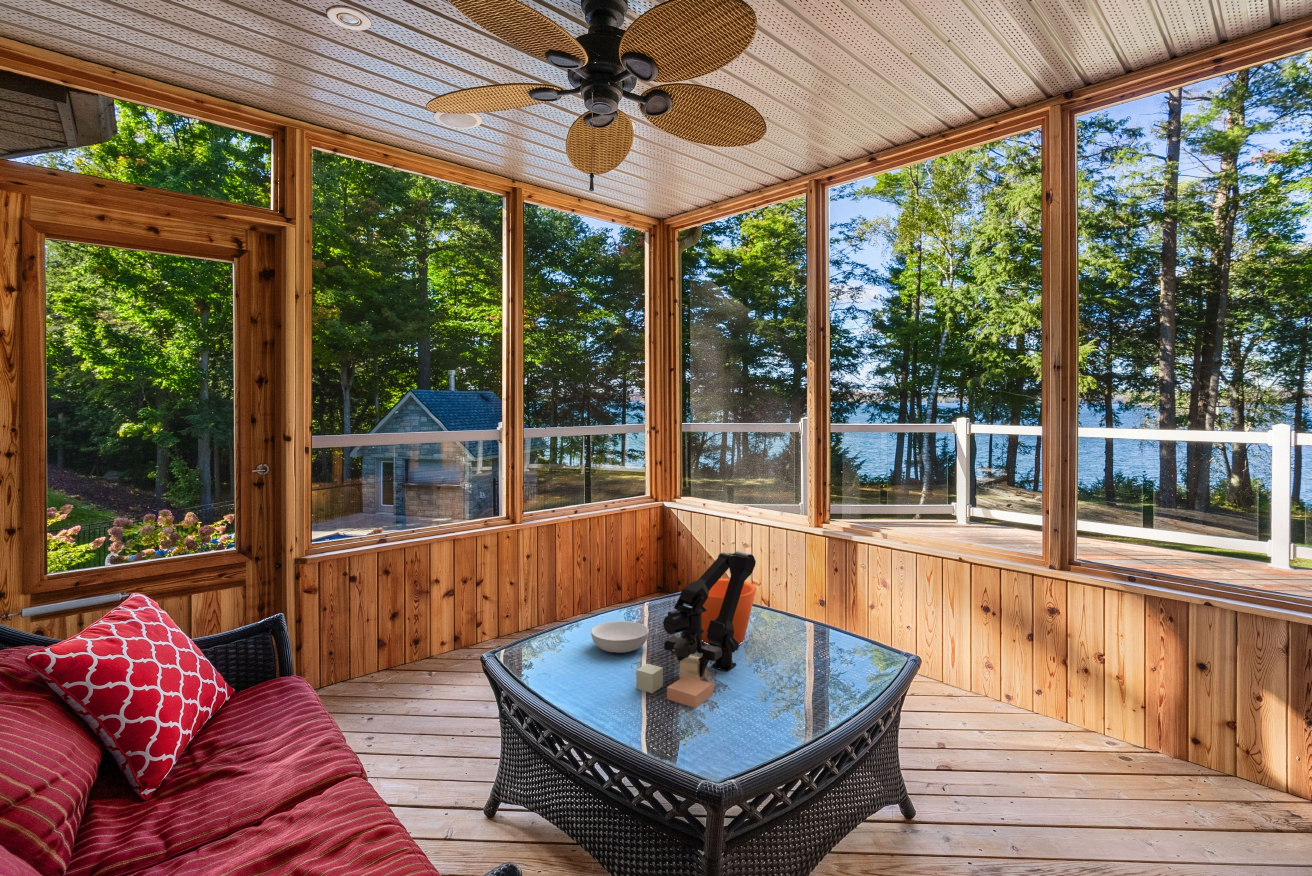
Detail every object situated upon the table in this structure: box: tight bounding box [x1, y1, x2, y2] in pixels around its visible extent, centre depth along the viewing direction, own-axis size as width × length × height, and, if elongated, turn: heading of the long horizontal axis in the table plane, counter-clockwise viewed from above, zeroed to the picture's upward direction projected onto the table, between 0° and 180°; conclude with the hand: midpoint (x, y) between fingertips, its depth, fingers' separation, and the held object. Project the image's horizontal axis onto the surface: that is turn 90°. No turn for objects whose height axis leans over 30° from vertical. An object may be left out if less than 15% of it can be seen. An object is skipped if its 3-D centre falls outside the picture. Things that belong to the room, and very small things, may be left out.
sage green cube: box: [635, 663, 664, 694], centre depth 202 cm, size 6×6×6 cm
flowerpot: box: [702, 577, 757, 645], centre depth 243 cm, size 25×25×20 cm
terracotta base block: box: [666, 676, 714, 709], centre depth 196 cm, size 10×10×4 cm
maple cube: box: [679, 654, 706, 681], centre depth 209 cm, size 6×6×6 cm
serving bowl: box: [590, 620, 650, 654], centre depth 235 cm, size 21×21×7 cm
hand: (692, 674), depth 209 cm, fingers closed on maple cube, 6 cm apart
